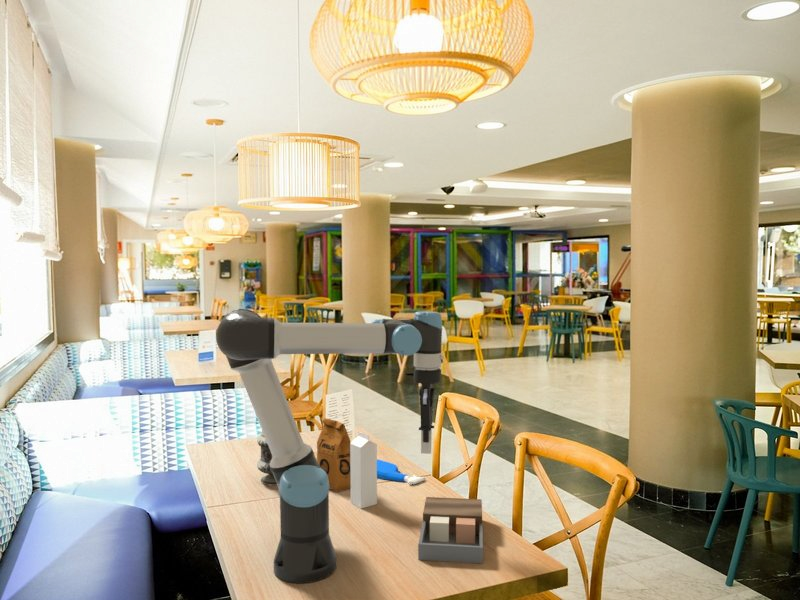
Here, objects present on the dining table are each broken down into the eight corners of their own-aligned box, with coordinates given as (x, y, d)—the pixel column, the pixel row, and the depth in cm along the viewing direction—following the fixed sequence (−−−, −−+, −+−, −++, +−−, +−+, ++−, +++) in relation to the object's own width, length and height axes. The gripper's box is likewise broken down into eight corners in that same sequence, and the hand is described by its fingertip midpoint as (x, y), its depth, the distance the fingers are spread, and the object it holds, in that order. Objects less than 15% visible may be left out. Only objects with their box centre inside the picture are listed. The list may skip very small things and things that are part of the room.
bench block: (482, 538, 163) (482, 516, 163) (422, 535, 165) (422, 513, 164) (481, 519, 175) (481, 499, 174) (426, 517, 177) (426, 496, 176)
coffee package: (333, 494, 194) (332, 427, 193) (313, 483, 204) (312, 419, 203) (358, 487, 201) (358, 422, 199) (338, 477, 210) (337, 415, 209)
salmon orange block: (475, 536, 163) (475, 543, 159) (456, 535, 163) (455, 542, 159) (475, 518, 162) (475, 524, 158) (456, 517, 163) (456, 524, 159)
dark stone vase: (290, 472, 216) (289, 422, 215) (295, 483, 204) (294, 431, 203) (255, 476, 212) (254, 425, 211) (259, 488, 200) (258, 434, 199)
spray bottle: (355, 464, 216) (408, 481, 200) (376, 457, 224) (428, 473, 208) (355, 472, 216) (408, 490, 200) (376, 465, 224) (428, 481, 208)
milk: (361, 509, 183) (360, 437, 181) (350, 502, 188) (349, 432, 186) (377, 504, 186) (376, 433, 185) (366, 498, 191) (366, 429, 190)
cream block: (449, 535, 164) (448, 541, 160) (430, 534, 164) (429, 541, 160) (449, 517, 163) (448, 523, 159) (430, 516, 164) (429, 522, 160)
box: (482, 563, 149) (483, 547, 149) (418, 559, 151) (418, 544, 151) (482, 538, 163) (482, 523, 163) (422, 535, 165) (422, 520, 165)
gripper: (439, 372, 159) (437, 460, 160) (443, 364, 171) (441, 446, 173) (410, 371, 160) (409, 459, 161) (416, 363, 173) (415, 445, 174)
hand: (426, 452), depth 167 cm, fingers closed
